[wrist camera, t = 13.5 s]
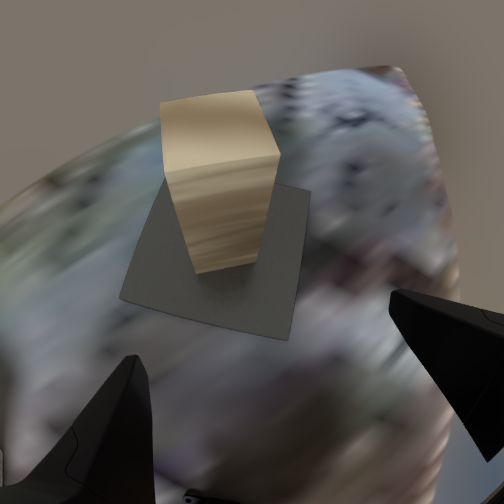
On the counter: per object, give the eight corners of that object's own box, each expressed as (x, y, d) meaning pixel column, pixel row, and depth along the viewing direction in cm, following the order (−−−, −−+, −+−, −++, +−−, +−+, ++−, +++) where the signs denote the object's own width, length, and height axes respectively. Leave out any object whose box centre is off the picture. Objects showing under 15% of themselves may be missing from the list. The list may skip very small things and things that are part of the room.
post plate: (286, 340, 22) (297, 334, 18) (121, 299, 22) (102, 285, 19) (309, 195, 28) (319, 169, 24) (172, 167, 28) (165, 140, 24)
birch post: (256, 261, 24) (280, 154, 12) (195, 274, 23) (164, 172, 11) (242, 210, 26) (252, 90, 14) (186, 220, 25) (159, 103, 13)
